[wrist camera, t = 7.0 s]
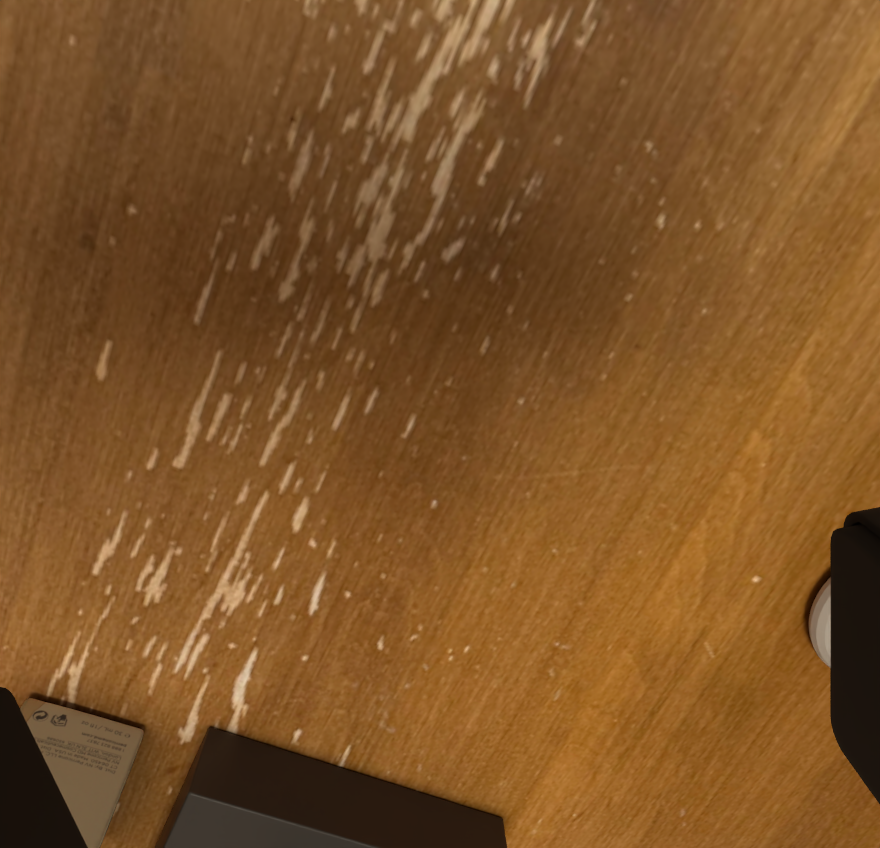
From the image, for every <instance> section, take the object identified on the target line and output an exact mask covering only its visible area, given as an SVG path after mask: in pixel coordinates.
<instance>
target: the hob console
mask: <svg viewBox="0 0 880 848" xmlns="http://www.w3.org/2000/svg"><path fill="white" fill-rule="evenodd" d="M155 848H507V844H506V838H505V831H504V824H503V819H502V818H500V817H496V816H493V815H490V814H487V813H484V812H480V811H477V810H474V809H471V808H468V807H464V806H461V805H458V804H455V803H452V802H448V801H445V800H442V799H439V798H436V797H432V796H429V795H426V794H423V793H420V792H416V791H413V790H410V789H407V788H403V787H400V786H397V785H394V784H391V783H387V782H384V781H381V780H378V779H375V778H371V777H368V776H365V775H362V774H359V773H355V772H352V771H349V770H346V769H343V768H339V767H336V766H333V765H330V764H327V763H323V762H320V761H317V760H314V759H311V758H307V757H304V756H301V755H298V754H294V753H291V752H288V751H285V750H282V749H278V748H275V747H272V746H269V745H266V744H262V743H259V742H256V741H253V740H250V739H246V738H243V737H240V736H237V735H234V734H230V733H227V732H224V731H221V730H218V729H214V728H211V727H210V728H209V729H208V731H207V733H206V735H205V737H204V740H203V742H202V744H201V746H200V748H199V751H198V753H197V755H196V757H195V760H194V762H193V764H192V766H191V768H190V771H189V773H188V775H187V777H186V780H185V782H184V784H183V786H182V788H181V791H180V793H179V795H178V797H177V800H176V802H175V804H174V806H173V808H172V811H171V813H170V815H169V817H168V820H167V822H166V824H165V826H164V828H163V831H162V833H161V835H160V837H159V840H158V842H157V844H156V846H155Z"/></svg>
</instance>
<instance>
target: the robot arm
mask: <svg viewBox="0 0 880 848" xmlns="http://www.w3.org/2000/svg"><path fill="white" fill-rule="evenodd" d="M831 724H832V728H833V732H834V735H835V738H836V740H837V742H838V744H839V747H840V748H841V750H842V752H843V753H844V755H845V756H846V758H847V759H848V760H849V762H850V763H851V765H852V766H853V767H854V769H855V770H856V772H857V773H858V774H859V776H860V777H861V779H862V780H863V781H864V783H865V784H866V786H867V787H868V788H869V790H870V791H871V793H872V794H873V795H874V797H875V798H876V800H877V801H878V802H879V804H880V507H879V508H873V509H868V510H863V511H857V512H852V513H851V514H849V515H848V516H847V517H846V519H845V522H844V527H843V528H839V529H836V530H835V531H833V534H832V536H831ZM0 848H88V847H87V845H86V843H85V841H84V839H83V837H82V835H81V833H80V831H79V829H78V827H77V824H76V822H75V820H74V818H73V816H72V814H71V812H70V810H69V808H68V806H67V804H66V802H65V800H64V798H63V796H62V794H61V792H60V790H59V788H58V786H57V784H56V782H55V780H54V777H53V775H52V773H51V771H50V769H49V767H48V765H47V763H46V761H45V759H44V757H43V755H42V753H41V751H40V749H39V747H38V745H37V743H36V741H35V739H34V737H33V735H32V733H31V730H30V728H29V726H28V724H27V722H26V720H25V718H24V716H23V714H22V712H21V710H20V708H19V706H18V704H17V702H16V700H15V698H14V696H13V695H12V693H11V692H10V691H9V690H8V689H6V688H2V687H0Z"/></svg>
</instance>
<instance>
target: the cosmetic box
mask: <svg viewBox="0 0 880 848" xmlns="http://www.w3.org/2000/svg"><path fill="white" fill-rule="evenodd" d="M20 710H21V712H22V714H23V716H24V718H25V720H26V722H27V724H28V726H29V728H30V730H31V733H32V735H33V737H34V739H35V741H36V743H37V745H38V747H39V749H40V751H41V753H42V755H43V757H44V759H45V761H46V763H47V765H48V767H49V769H50V771H51V773H52V775H53V777H54V780H55V782H56V784H57V786H58V788H59V790H60V792H61V794H62V796H63V798H64V800H65V802H66V804H67V806H68V808H69V810H70V812H71V814H72V816H73V818H74V820H75V822H76V824H77V827H78V829H79V831H80V833H81V835H82V837H83V839H84V841H85V843H86V845H87V847H88V848H100V846H101V844H102V841H103V839H104V836H105V834H106V831H107V829H108V826H109V823H110V821H111V818H112V816H113V813H114V811H115V808H116V806H117V803H118V801H119V798H120V795H121V793H122V790H123V788H124V785H125V783H126V780H127V778H128V775H129V773H130V770H131V768H132V765H133V763H134V760H135V757H136V755H137V752H138V749H139V746H140V744H141V741H142V738H143V735H144V731H143V730H142V729H140V728H136V727H132V726H129V725H125V724H122V723H119V722H115V721H111V720H109V719H105V718H102V717H98V716H95V715H91V714H88V713H84V712H81V711H77V710H74V709H70V708H66V707H63V706H59V705H56V704H51V703H47V702H43V701H40V700H37V699H32V698H28V699H26V701H25V702H24V703H23V705H22V706H21V708H20Z"/></svg>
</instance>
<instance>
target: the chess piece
mask: <svg viewBox="0 0 880 848" xmlns="http://www.w3.org/2000/svg"><path fill="white" fill-rule="evenodd" d="M809 634H810V638H811V641H812V644H813V647H814V649H815V651H816V653H817V655H818V656H819V657H820V659H821V660H822V661H823V662H824V663H825V664H826V665H827V666H829V667H830V668H831V577H830V578H829V579H828V580H827V581H826V583H825V584H824V585H823V586H822V588H821V589H820V591H819V592H818V594H817V596H816V598H815V600H814V602H813V604H812V608H811V611H810V616H809Z"/></svg>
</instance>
